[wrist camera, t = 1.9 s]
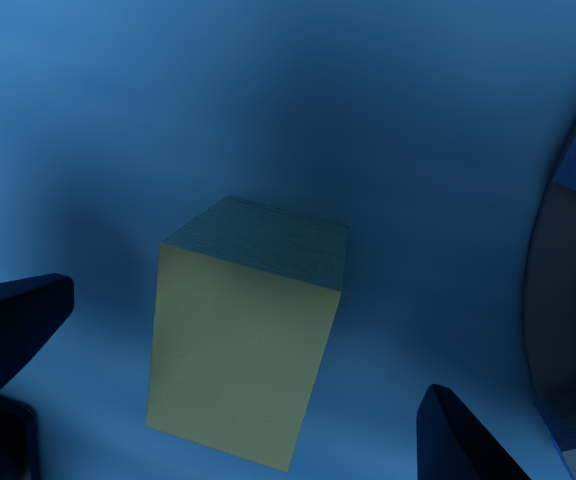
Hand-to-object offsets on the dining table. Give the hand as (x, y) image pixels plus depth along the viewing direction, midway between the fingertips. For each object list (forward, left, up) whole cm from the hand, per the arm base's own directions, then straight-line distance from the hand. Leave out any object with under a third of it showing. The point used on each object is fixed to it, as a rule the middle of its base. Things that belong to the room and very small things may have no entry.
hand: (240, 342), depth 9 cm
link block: (0, 0, -3) cm, 3 cm away
